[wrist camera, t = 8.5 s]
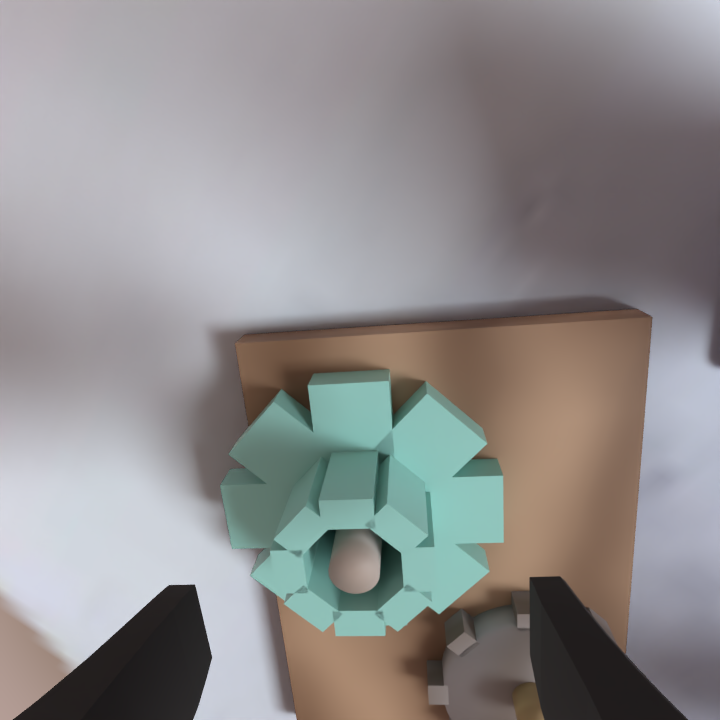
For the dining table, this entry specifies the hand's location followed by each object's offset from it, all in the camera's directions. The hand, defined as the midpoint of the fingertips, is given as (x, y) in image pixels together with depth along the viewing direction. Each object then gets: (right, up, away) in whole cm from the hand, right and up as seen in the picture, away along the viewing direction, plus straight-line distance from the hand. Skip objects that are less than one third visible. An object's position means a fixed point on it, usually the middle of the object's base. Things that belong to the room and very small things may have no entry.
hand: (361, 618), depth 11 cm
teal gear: (0, 0, +9) cm, 9 cm away
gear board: (+3, -2, +11) cm, 11 cm away
